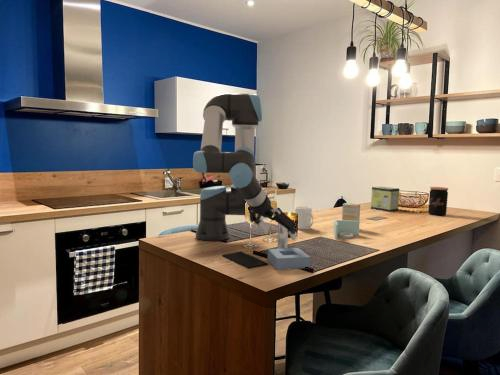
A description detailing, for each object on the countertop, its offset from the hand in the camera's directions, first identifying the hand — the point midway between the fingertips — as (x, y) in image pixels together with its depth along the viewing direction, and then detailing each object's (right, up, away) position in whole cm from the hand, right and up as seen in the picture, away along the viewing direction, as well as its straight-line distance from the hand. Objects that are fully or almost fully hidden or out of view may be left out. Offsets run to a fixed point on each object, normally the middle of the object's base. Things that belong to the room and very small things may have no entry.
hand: (280, 234), depth 149 cm
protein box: (+82, +3, +119) cm, 145 cm away
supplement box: (+41, -4, +55) cm, 69 cm away
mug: (+17, -3, +51) cm, 54 cm away
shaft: (+1, -8, +3) cm, 9 cm away
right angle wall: (+35, -6, +35) cm, 49 cm away
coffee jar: (+111, 0, +103) cm, 152 cm away
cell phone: (-14, -9, -7) cm, 18 cm away
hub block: (+2, -9, -10) cm, 13 cm away
